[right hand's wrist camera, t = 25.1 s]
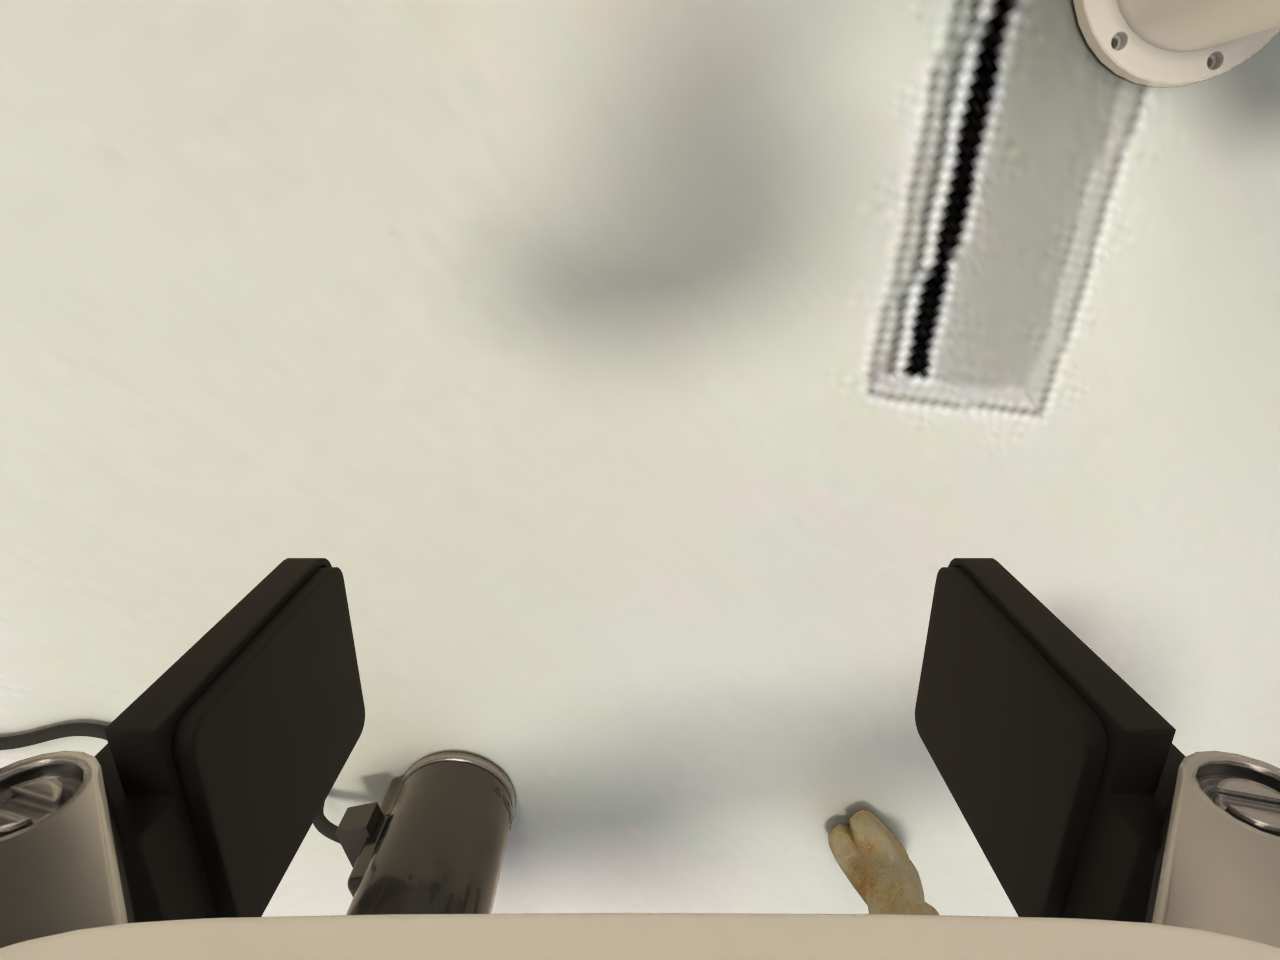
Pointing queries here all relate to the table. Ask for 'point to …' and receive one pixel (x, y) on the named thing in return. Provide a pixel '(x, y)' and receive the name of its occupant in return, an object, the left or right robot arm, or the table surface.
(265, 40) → the table surface
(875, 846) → the sculpture
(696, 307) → the table surface
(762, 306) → the table surface
